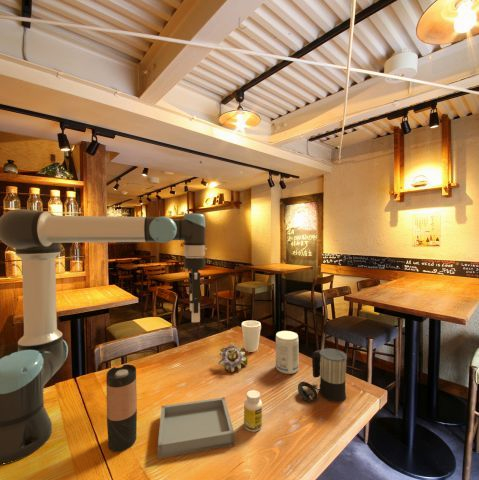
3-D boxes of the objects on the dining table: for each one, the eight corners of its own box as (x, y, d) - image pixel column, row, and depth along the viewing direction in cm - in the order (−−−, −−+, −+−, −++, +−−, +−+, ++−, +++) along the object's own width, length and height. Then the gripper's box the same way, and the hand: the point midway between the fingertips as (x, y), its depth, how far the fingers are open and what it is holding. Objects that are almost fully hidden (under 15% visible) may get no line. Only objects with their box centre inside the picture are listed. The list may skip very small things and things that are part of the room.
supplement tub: (293, 362, 120) (293, 329, 120) (302, 373, 111) (302, 338, 110) (272, 364, 118) (272, 331, 117) (280, 376, 109) (280, 340, 108)
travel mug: (126, 455, 70) (125, 380, 70) (100, 450, 72) (99, 376, 71) (142, 433, 78) (141, 365, 77) (119, 429, 79) (118, 362, 79)
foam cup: (237, 350, 132) (237, 324, 131) (248, 344, 139) (248, 319, 139) (254, 355, 126) (254, 328, 126) (264, 348, 134) (264, 322, 133)
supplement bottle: (256, 435, 77) (256, 401, 77) (240, 427, 80) (240, 395, 80) (265, 423, 82) (265, 392, 82) (249, 417, 85) (249, 386, 84)
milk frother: (350, 394, 97) (351, 353, 96) (331, 416, 85) (332, 370, 85) (314, 379, 107) (314, 342, 106) (292, 397, 95) (293, 355, 95)
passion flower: (232, 383, 113) (217, 365, 109) (227, 366, 123) (212, 349, 119) (254, 367, 114) (239, 348, 110) (247, 351, 124) (233, 334, 120)
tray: (157, 458, 69) (157, 445, 69) (161, 416, 85) (161, 405, 85) (234, 445, 74) (234, 432, 74) (224, 407, 89) (224, 397, 89)
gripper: (209, 260, 85) (208, 326, 86) (202, 254, 110) (201, 305, 110) (184, 260, 84) (184, 328, 84) (183, 254, 108) (183, 306, 109)
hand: (194, 315), depth 97 cm, fingers open, 13 cm apart
